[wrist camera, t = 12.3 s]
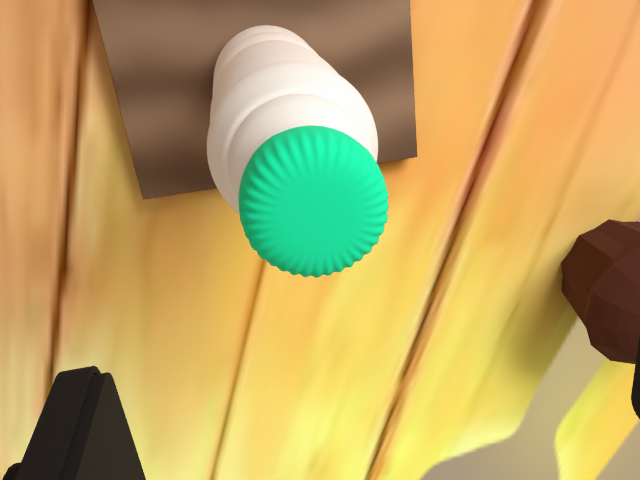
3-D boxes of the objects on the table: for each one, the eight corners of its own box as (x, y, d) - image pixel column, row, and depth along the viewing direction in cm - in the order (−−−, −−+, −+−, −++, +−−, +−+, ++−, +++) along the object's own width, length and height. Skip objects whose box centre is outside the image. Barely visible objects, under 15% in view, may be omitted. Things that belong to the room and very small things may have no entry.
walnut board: (93, -14, 39) (89, -14, 37) (401, -53, 40) (407, -54, 39) (145, 192, 44) (143, 199, 43) (411, 151, 46) (417, 156, 45)
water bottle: (319, 23, 40) (441, 95, 17) (319, 129, 43) (423, 310, 20) (209, 24, 39) (189, 102, 16) (217, 132, 42) (208, 326, 19)
